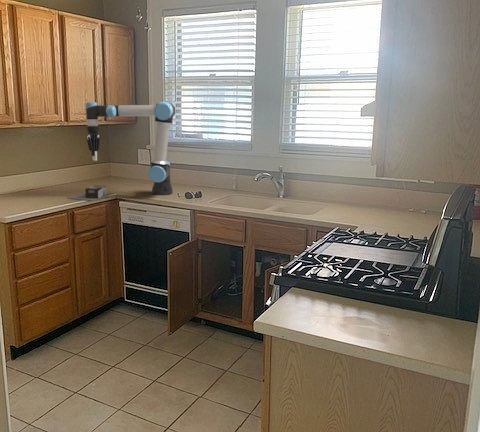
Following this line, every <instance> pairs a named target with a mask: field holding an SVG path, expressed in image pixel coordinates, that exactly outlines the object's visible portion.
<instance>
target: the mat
mask: <svg viewBox="0 0 480 432" xmlns="http://www.w3.org/2000/svg"><path fill="white" fill-rule="evenodd" d="M108 197H109V195H107V194H106V195H104V196H102V197H100V198H86V193H85V192H84V193H81V194H77V195H73V196H68V197H67V199H71V200H78V201H87V202H89V201H90V202H93V201H96V200H100V199H104V198H108Z"/></svg>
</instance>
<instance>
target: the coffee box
mask: <svg viewBox="0 0 480 432" xmlns="http://www.w3.org/2000/svg"><path fill="white" fill-rule="evenodd" d="M107 191H108V189H107V185H98V184H94V185H91V186H89V187H87V188H85V192H84V194H85V193H86V198H100V197H102V196H104V195H106V196H107V195H108V192H107Z"/></svg>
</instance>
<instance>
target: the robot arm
mask: <svg viewBox="0 0 480 432" xmlns="http://www.w3.org/2000/svg"><path fill="white" fill-rule="evenodd" d="M175 114H176V108H175V105H174V104H173V103H171V102H169V101H160V102H157V103H155V104H141V105H140V104H130V105H129V104H128V105H127V104H126V105H124V104H123V105H121V104H120V105H118V104H116V105H113V104H109V105H107V104H106V105H104V104H103V105H99V104H98V103H97V102H95V101H93V102H90V101H89V102H88V101H87V102H85V115H86V116H85V118H86V129H87V130H86V131H87V132H88V135H87V136H85V139H86V142H87V146H88V149H89V150H88V151H90V152H91V156H92V161H94V162H95V161H96V162H97V161H98V151H99V150H100V142H101V135H99V131H100V129H99V118H100V117H101V118H102V117H103V118H108V117H109V118H115V117H154V122H155V123H156V131H155V137H154V150H153V159H151V161H150V168H149V170H148V177H149V179H150V181H152V182H153V185H152V188H151V194H153V195H157V196H166V195H172V194H174V189H173V186H172V183H171V163H170V162H169V161H167V157H168V156H167V154H168V145H169V136H170V127H171V125H172V124H173V120H174V119H173V118H174V116H176V115H175Z"/></svg>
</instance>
